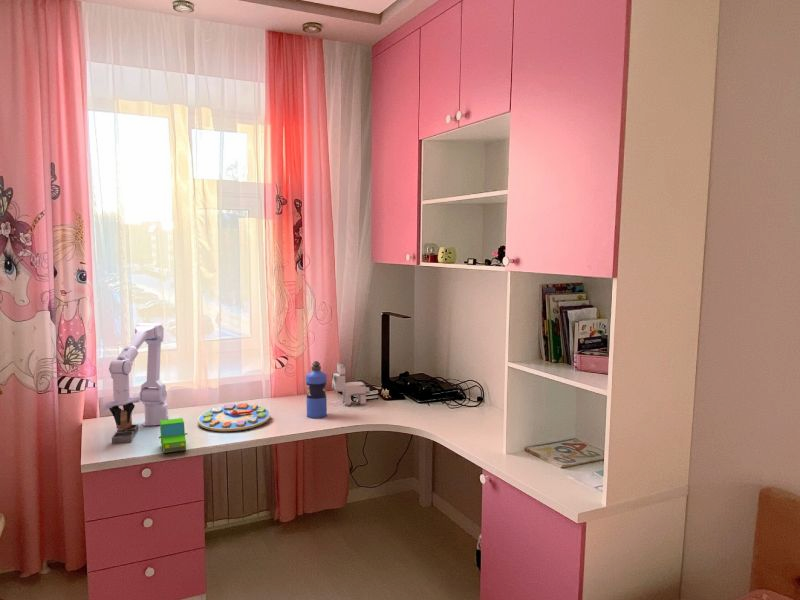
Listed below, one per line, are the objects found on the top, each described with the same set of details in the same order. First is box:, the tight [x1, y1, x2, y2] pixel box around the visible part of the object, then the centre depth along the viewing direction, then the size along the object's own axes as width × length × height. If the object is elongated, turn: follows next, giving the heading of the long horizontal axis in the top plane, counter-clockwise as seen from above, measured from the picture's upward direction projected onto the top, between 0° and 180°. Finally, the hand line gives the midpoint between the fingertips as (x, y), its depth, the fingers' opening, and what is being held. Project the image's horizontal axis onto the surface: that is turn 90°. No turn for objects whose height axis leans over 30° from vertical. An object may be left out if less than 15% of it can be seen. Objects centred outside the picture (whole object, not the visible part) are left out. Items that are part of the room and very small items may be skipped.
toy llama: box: [331, 362, 371, 407], centre depth 296 cm, size 8×18×20 cm, turn 106°
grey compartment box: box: [111, 412, 139, 445], centre depth 246 cm, size 7×17×8 cm, turn 14°
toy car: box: [158, 417, 188, 455], centre depth 230 cm, size 10×13×10 cm
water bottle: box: [305, 360, 328, 420], centre depth 275 cm, size 9×9×25 cm
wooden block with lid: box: [115, 409, 128, 430], centre depth 241 cm, size 3×3×7 cm
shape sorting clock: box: [197, 402, 271, 432], centre depth 266 cm, size 31×30×6 cm
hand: (122, 423), depth 241 cm, fingers closed on wooden block with lid, 3 cm apart
